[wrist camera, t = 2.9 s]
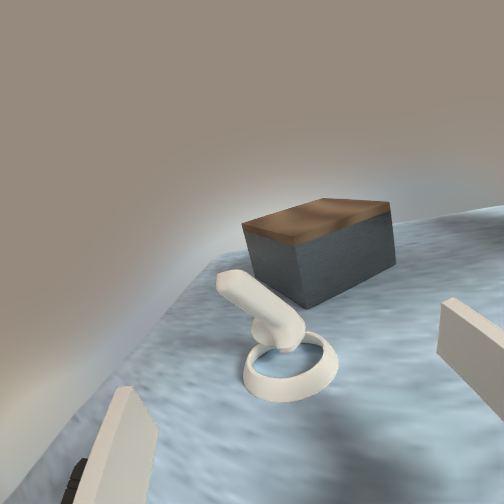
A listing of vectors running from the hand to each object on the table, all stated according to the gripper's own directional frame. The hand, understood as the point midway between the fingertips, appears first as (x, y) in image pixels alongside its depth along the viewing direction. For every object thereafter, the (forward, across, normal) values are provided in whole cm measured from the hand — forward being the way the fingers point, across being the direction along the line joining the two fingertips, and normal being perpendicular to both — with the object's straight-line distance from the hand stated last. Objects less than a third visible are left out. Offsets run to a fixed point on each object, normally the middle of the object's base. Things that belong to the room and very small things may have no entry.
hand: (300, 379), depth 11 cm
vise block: (+27, +8, -7) cm, 29 cm away
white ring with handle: (+10, 0, -8) cm, 12 cm away
